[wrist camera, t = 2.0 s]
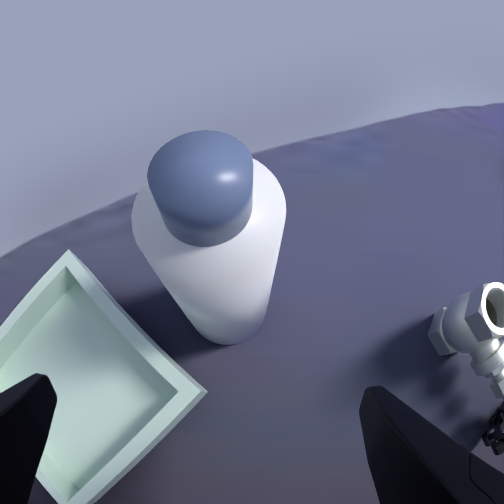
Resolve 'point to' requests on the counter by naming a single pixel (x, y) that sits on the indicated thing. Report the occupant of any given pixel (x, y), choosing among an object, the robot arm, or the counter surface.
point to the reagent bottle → (212, 231)
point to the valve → (477, 343)
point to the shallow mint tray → (92, 381)
